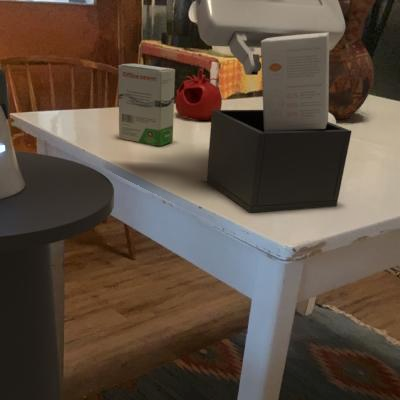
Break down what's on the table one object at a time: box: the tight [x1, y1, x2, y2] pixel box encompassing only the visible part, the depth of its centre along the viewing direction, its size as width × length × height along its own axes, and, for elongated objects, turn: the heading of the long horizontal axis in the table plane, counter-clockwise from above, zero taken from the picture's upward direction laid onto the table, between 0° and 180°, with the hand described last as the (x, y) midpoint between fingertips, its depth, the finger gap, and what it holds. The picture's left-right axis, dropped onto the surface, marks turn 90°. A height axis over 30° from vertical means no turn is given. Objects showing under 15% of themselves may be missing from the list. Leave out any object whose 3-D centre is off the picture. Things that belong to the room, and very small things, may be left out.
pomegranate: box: [174, 68, 223, 121], centre depth 124 cm, size 10×10×9 cm
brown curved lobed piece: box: [328, 0, 377, 120], centre depth 134 cm, size 22×21×25 cm
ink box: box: [118, 63, 176, 147], centre depth 104 cm, size 9×5×12 cm, turn 62°
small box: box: [260, 32, 329, 132], centre depth 76 cm, size 8×6×10 cm
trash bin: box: [205, 109, 353, 214], centre depth 83 cm, size 14×14×10 cm
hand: (286, 72), depth 77 cm, fingers open, 8 cm apart
